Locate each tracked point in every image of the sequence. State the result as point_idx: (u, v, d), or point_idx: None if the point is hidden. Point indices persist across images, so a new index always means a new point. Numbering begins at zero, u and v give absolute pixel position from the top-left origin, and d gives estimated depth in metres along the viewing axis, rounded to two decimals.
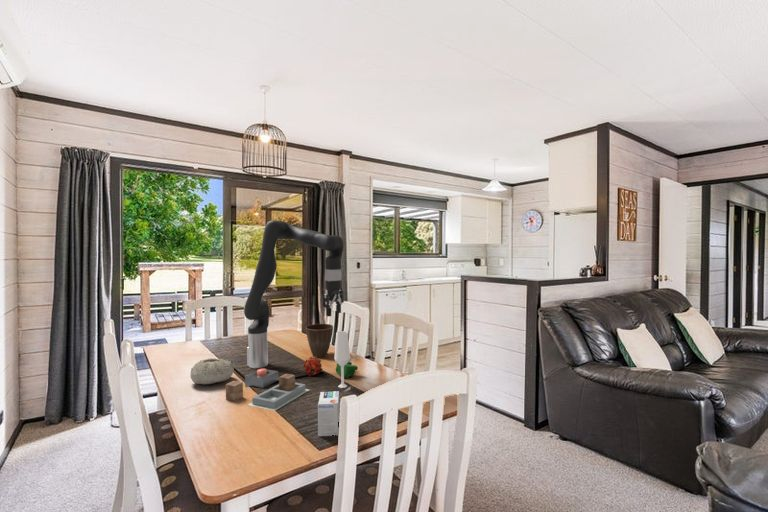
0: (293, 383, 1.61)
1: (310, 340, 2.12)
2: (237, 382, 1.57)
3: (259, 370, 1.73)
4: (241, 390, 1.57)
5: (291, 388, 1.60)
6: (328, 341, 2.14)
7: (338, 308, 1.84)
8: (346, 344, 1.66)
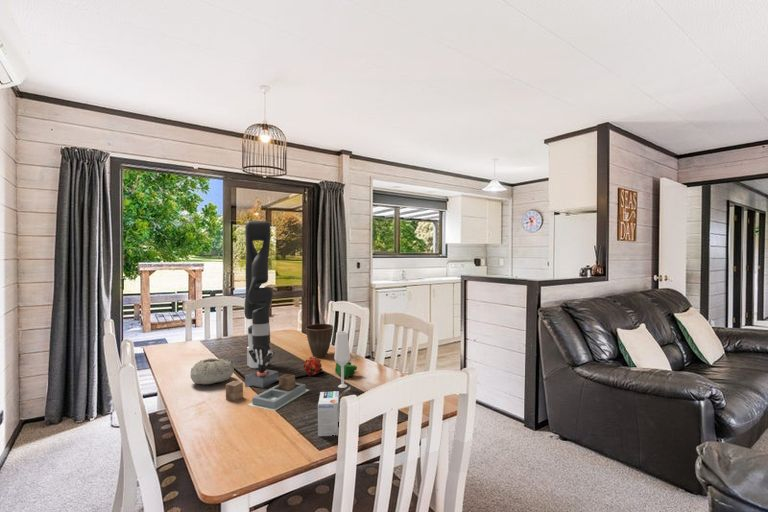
0: (293, 383, 1.61)
1: (310, 340, 2.12)
2: (237, 382, 1.57)
3: None
4: (241, 390, 1.57)
5: (291, 388, 1.60)
6: (328, 341, 2.14)
7: None
8: (346, 344, 1.66)
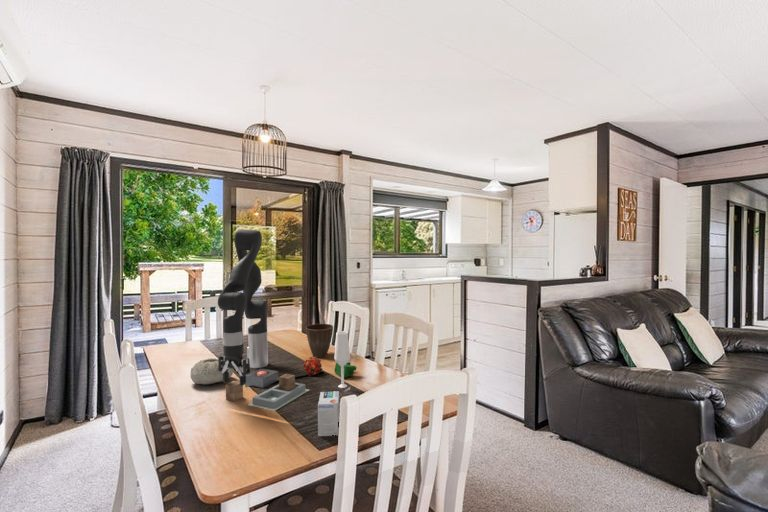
0: (293, 383, 1.61)
1: (310, 340, 2.12)
2: (237, 382, 1.57)
3: (259, 373, 1.73)
4: (241, 390, 1.57)
5: (291, 388, 1.60)
6: (328, 341, 2.14)
7: (227, 376, 1.58)
8: (346, 344, 1.66)
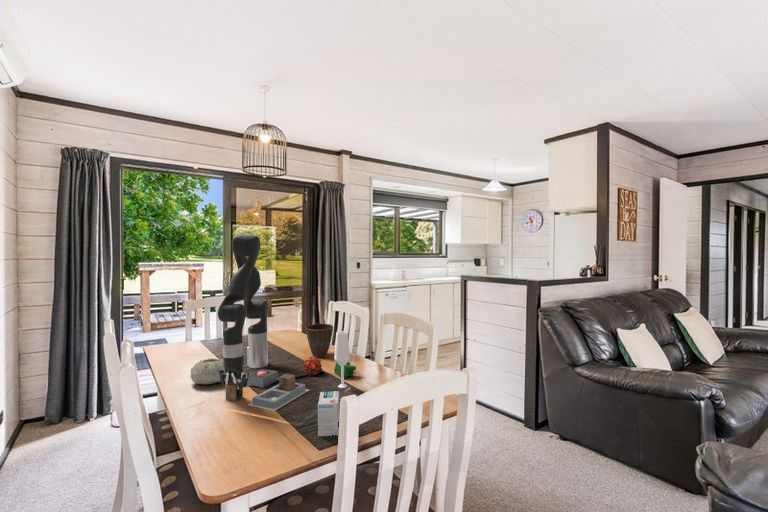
0: (293, 383, 1.61)
1: (310, 340, 2.12)
2: None
3: (259, 373, 1.73)
4: None
5: (291, 388, 1.60)
6: (328, 341, 2.14)
7: None
8: (346, 344, 1.66)
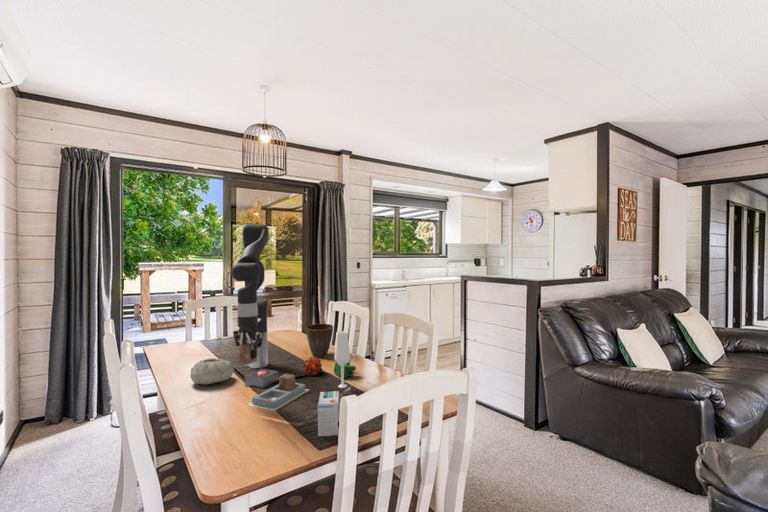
0: (293, 383, 1.61)
1: (310, 340, 2.12)
2: None
3: (259, 373, 1.73)
4: None
5: (291, 388, 1.60)
6: (328, 341, 2.14)
7: None
8: (346, 344, 1.66)
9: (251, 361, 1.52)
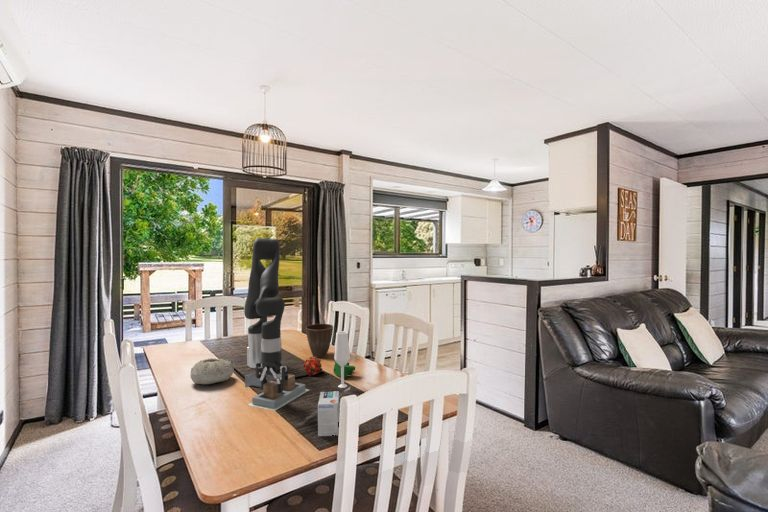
0: (293, 383, 1.61)
1: (310, 340, 2.12)
2: (275, 382, 1.54)
3: (259, 373, 1.73)
4: None
5: (291, 388, 1.60)
6: (328, 341, 2.14)
7: None
8: (346, 344, 1.66)
9: None
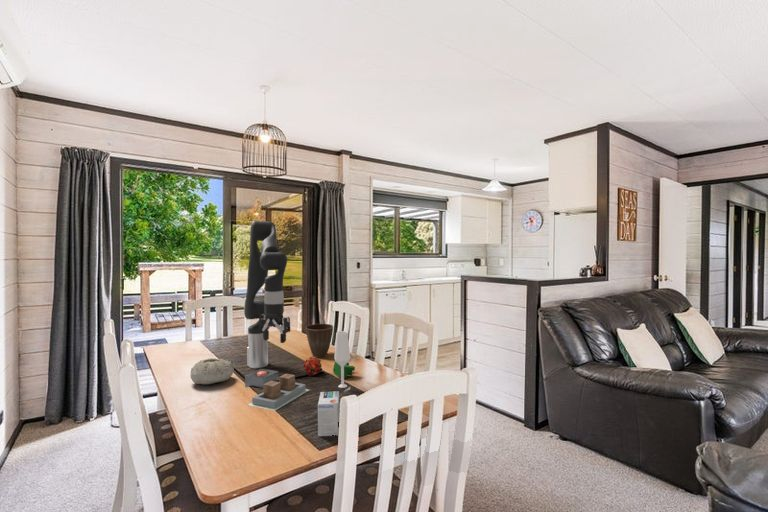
0: (293, 383, 1.61)
1: (310, 340, 2.12)
2: (275, 382, 1.54)
3: (259, 373, 1.73)
4: (279, 390, 1.53)
5: (291, 388, 1.60)
6: (328, 341, 2.14)
7: (267, 334, 1.62)
8: (346, 344, 1.66)
9: None
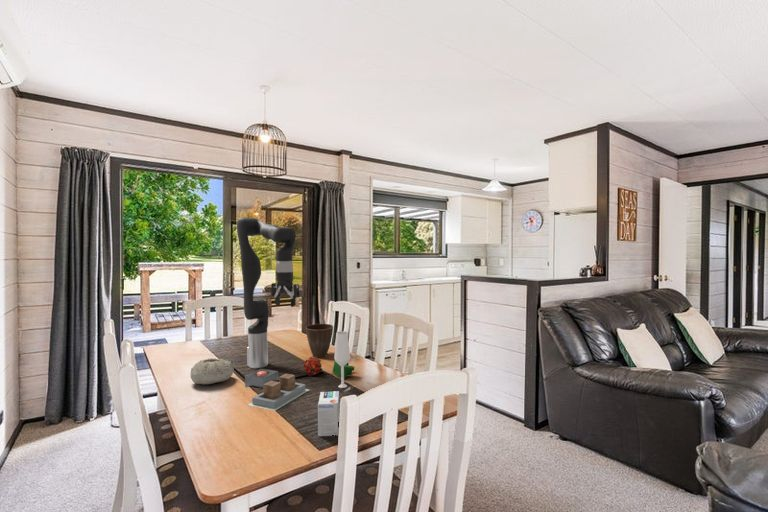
0: (293, 383, 1.61)
1: (310, 340, 2.12)
2: (275, 382, 1.54)
3: (259, 373, 1.73)
4: (279, 390, 1.53)
5: (291, 388, 1.60)
6: (328, 341, 2.14)
7: (278, 300, 1.83)
8: (346, 344, 1.66)
9: None
